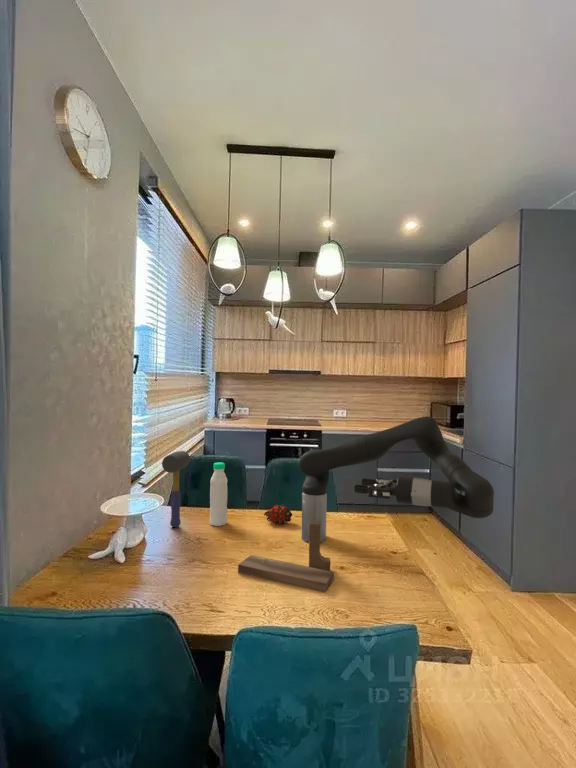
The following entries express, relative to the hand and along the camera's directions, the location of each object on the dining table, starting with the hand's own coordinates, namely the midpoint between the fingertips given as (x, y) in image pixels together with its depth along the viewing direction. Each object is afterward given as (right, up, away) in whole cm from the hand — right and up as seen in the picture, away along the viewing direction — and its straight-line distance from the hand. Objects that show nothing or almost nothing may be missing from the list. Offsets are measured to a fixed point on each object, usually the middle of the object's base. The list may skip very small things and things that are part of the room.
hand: (358, 485), depth 123 cm
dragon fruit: (-25, -28, +48) cm, 61 cm away
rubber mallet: (-66, -27, +42) cm, 83 cm away
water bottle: (-50, -28, +47) cm, 74 cm away
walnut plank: (-22, -28, +1) cm, 35 cm away
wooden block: (-11, -28, +5) cm, 31 cm away
